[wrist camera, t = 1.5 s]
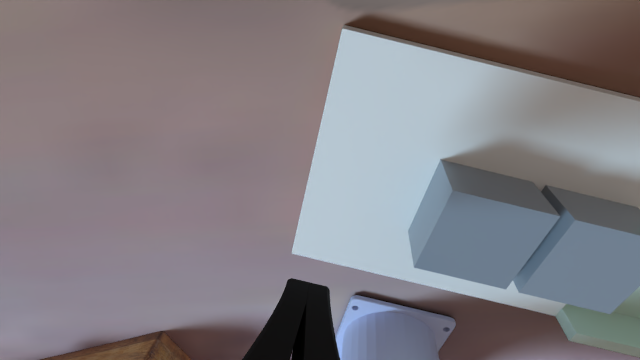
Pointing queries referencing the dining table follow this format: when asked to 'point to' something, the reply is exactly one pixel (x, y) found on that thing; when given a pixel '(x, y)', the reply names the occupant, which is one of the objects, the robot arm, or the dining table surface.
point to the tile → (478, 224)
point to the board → (450, 149)
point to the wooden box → (131, 350)
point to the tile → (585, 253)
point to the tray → (605, 326)
